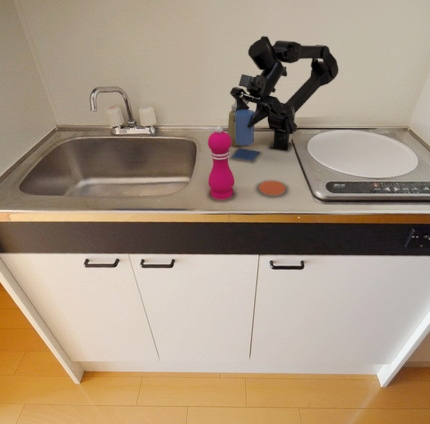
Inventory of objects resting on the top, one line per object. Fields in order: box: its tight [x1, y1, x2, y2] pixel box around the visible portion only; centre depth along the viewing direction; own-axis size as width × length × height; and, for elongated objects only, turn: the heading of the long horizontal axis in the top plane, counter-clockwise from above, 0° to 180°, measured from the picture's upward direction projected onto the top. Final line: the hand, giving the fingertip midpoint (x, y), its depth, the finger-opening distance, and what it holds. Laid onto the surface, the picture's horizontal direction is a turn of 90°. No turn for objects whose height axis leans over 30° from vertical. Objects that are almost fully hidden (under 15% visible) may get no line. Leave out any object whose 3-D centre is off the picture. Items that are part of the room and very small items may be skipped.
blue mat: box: [231, 148, 260, 162], centre depth 100 cm, size 8×8×1 cm
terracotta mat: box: [258, 180, 286, 196], centre depth 82 cm, size 8×8×1 cm
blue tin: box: [235, 109, 255, 146], centre depth 89 cm, size 6×6×10 cm
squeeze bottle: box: [227, 99, 243, 147], centre depth 104 cm, size 8×8×18 cm
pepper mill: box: [207, 125, 235, 200], centre depth 75 cm, size 7×7×20 cm
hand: (241, 124), depth 88 cm, fingers closed on blue tin, 6 cm apart
